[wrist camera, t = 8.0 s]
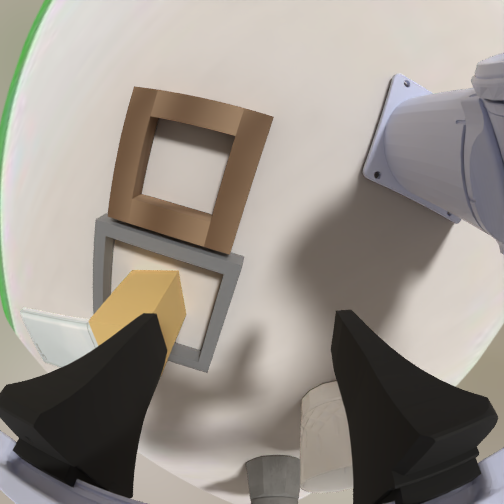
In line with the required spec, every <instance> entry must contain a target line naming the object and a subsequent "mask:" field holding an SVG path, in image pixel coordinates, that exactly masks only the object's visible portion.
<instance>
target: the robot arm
mask: <svg viewBox="0 0 504 504" xmlns="http://www.w3.org/2000/svg"><path fill="white" fill-rule="evenodd" d="M404 81H405V82H407V84H408V87H406V86H405V85H404ZM471 82H472V85H473V87H474V88H468V89H461V90H453V91H447V92H441V93H435V94H433V93H432V92H430V91H428V90H427V89H425V88H424V87H422V86H421V85H419V84H417V83H416V82H414V81H412V80H411V79H409V78H407V77H406V76H404V75H402V74H395V75H394V76H393V78H392V81H391V85H390V88H389V92H388V95H387V98H386V102H385V105H384V108H383V111H382V115H381V118H380V121H379V124H378V127H377V130H376V133H375V136H374V139H373V142H372V145H371V148H370V151H369V154H368V156H367V159H366V162H365V165H364V167H363V175H364V177H365V178H367V179H369V180H371V181H374V182H376V183H378V184H380V185H382V186H385V187H387V188H389V189H391V190H393V191H395V192H397V193H399V194H401V195H403V196H405V197H407V198H409V199H411V200H413V201H415V202H417V203H419V204H421V205H423V206H425V207H427V208H429V209H430V210H432V211H434V212H436V213H438V214H440V215H441V216H443V217H445V218H447V219H449V220H450V221H452V222H454V223H456V224H457V223H459V222H460V221H461V219H463V220H465V221H466V222H468V223H470V224H472V225H473V226H475V227H477V228H479V229H480V230H482V231H484V232H485V233H487V234H489V235H490V236H492V237H493V238H494V239H496V241H497V242H498V244H499V247H500V252H501V253H502V254H503V255H504V53H501V54H498V55H495V56H492V57H489V58H487V59H484V60H482V61H480V62H479V63H478V64H477V67H476V70H475V75H474V76H473V77H472V79H471ZM377 171H378V172H379V176H378V178H375V177H374V173H375V172H377ZM447 212H449V214H447ZM167 351H168V350H167V347H166V344H165V340H164V337H163V334H162V331H161V327H160V324H159V320H158V317H157V314H155V313H143V314H141V315H140V316H138V317H137V318H136V319H134V320H133V321H131V322H130V323H129V324H128V325H126V326H125V327H124V328H122V329H121V330H120V331H118V332H117V333H116V334H114V335H113V336H112V337H110V338H109V339H108V340H106V341H105V342H103V343H102V344H100V345H99V346H98V347H96V348H95V349H93V350H92V351H90V352H89V353H87V354H86V355H84V356H82V357H81V358H79V359H77V360H75V361H73V362H72V363H70V364H68V365H66V366H63V367H61V368H59V369H57V370H55V371H52V372H50V373H48V374H45V375H42V376H40V377H36V378H33V379H30V380H27V381H22V382H18V383H13V384H8V385H6V386H5V387H4V389H3V390H2V391H1V393H0V418H1V419H2V420H3V421H4V422H5V423H6V425H7V426H8V427H9V428H10V429H11V430H12V431H13V432H14V433H15V434H16V435H17V436H18V437H19V440H18V441H17V442H16V441H14V440H13V439H12V438H10V437H9V436H8V435H6V434H5V433H3V432H2V431H1V430H0V490H1V491H2V492H3V493H4V494H6V495H7V496H8V497H9V498H10V499H11V500H12V501H13V502H14V503H16V504H147V503H143V502H140V501H136V500H133V499H130V498H132V497H133V481H134V469H135V462H136V454H137V449H138V444H139V438H140V434H141V430H142V425H143V421H144V418H145V415H146V412H147V409H148V406H149V404H150V401H151V399H152V396H153V394H154V391H155V389H156V386H157V384H158V381H159V379H160V376H161V374H162V371H163V367H164V364H165V359H166V355H167ZM331 353H332V360H333V367H334V372H335V376H336V379H337V383H338V387H339V390H340V394H341V397H342V401H343V405H344V408H345V412H346V416H347V421H348V427H349V435H350V443H351V454H352V467H353V504H504V448H502V449H500V450H499V451H497V452H495V453H493V454H492V455H490V456H488V457H487V458H485V459H483V460H482V461H481V462H479V463H477V460H476V457H477V456H478V455H479V451H478V449H477V446H478V445H479V444H480V443H481V441H482V440H483V439H484V438H485V437H486V436H487V435H488V434H489V433H490V432H491V430H492V429H493V428H494V427H495V425H496V423H497V420H498V416H497V414H496V412H495V410H494V408H493V406H492V405H491V403H490V401H489V399H488V398H487V397H484V396H481V395H477V394H474V393H471V392H468V391H465V390H462V389H459V388H457V387H455V386H452V385H450V384H448V383H446V382H444V381H441V380H439V379H438V378H436V377H434V376H432V375H430V374H428V373H427V372H425V371H423V370H422V369H420V368H418V367H417V366H415V365H414V364H412V363H411V362H409V361H408V360H406V359H405V358H404V357H402V356H401V355H400V354H398V353H397V352H396V351H395V350H394V349H392V348H391V347H390V346H389V345H388V344H386V343H385V342H384V341H383V340H382V339H381V338H380V337H378V336H377V335H376V334H375V333H374V332H373V331H372V330H371V329H370V328H369V327H368V326H367V325H366V324H365V323H364V322H363V321H362V320H361V319H360V318H359V317H358V316H357V315H356V314H355V313H354V312H353V311H352V310H341V311H336V316H335V324H334V331H333V339H332V345H331Z"/></svg>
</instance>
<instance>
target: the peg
mask: <svg viewBox="0 0 504 504" xmlns="http://www.w3.org/2000/svg"><path fill="white" fill-rule="evenodd" d="M143 313H155V314H157V317H158V320H159V324H160V327H161V331H162V334H163V337H164V340H165V344H166V347H167V350H168V351H167V355H166V359H165V364H164V367H165V365H166V362H167V360H168V357H169V355H170V352H171V350H172V347H173V345H174V343H175V340H176V338H177V335H178V333H179V331H180V328H181V326H182V323H183V321H184V319H185V316H186V310H185V305H184V299H183V294H182V288H181V282H180V276H179V271H162V270H132V271H131V272H130V273H129V274H128V275H127V277H126V278H125V279H124V280H123V281H122V282H121V283H120V284H119V286H118V287H117V288H116V289H115V290H114V291H113V292H112V294H111V295H110V296H109V297H108V298H107V299H106V301H105V302H104V303H103V304H102V305H101V307H100V308H99V309H98V310H97V311H96V312H95V314H94V315H93V316H92V317H91V319H90V320H89V321H88V322H89V325H90V327H91V330H92V332H93V334H94V337H95V339H96V342H97V344H98V346H99V345H100V344H102V343H103V342H105V341H106V340H108V339H109V338H110V337H112V336H113V335H114V334H116V333H117V332H118V331H120V330H121V329H122V328H124V327H125V326H126V325H128V324H129V323H130V322H131V321H133V320H134V319H136V318H137V317H138V316H140V315H141V314H143ZM164 367H163V370H164ZM162 372H163V371H162ZM161 375H162V374H161ZM160 377H161V376H160Z"/></svg>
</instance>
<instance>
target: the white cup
mask: <svg viewBox="0 0 504 504" xmlns="http://www.w3.org/2000/svg"><path fill="white" fill-rule="evenodd" d="M300 430H301V433H300V443H301V444H300V488H301V489H302V490H304V491H307V492H312V493H331V492H339V491H344V490H348V489H352V488H353V467H352V454H351V443H350V435H349V427H348V421H347V416H346V412H345V408H344V405H343V401H342V397H341V394H340V390H339V387H338V383H337V381H334V382H329V383H325V384H321V385H320V386H318V387H316V388H314V389H312V390H310V391H309V392H308V393H307V394H306V395H305V396H304V398H303V399H302V404H301V424H300Z"/></svg>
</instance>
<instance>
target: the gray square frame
mask: <svg viewBox="0 0 504 504" xmlns="http://www.w3.org/2000/svg"><path fill="white" fill-rule="evenodd" d="M114 239H116V240H119V241H122V242H125V243H128V244H131V245H134V246H137V247H140V248H143V249H146V250H149V251H152V252H155V253H158V254H161V255H164V256H167V257H170V258H173V259H176V260H180V261H183V262H186V263H189V264H192V265H195V266H199V267H202V268H205V269H208V270H211V271H215V272H218V273H221V274H224V275H223V279H222V282H221V285H220V289H219V292H218V296H217V299H216V302H215V306H214V309H213V313H212V316H211V320H210V323H209V327H208V330H207V334H206V337H205V341H204V344H203V348H202V351H200V350H197V349H194V348H190V347H187V346H184V345H181V344H178V343H174V345H173V347H172V350H171V352H170V355H169V357H168V361H171V362H174V363H177V364H180V365H183V366H186V367H189V368H193V369H196V370H199V371H203V372H206V373H207V372H208V369H209V366H210V363H211V360H212V357H213V354H214V351H215V348H216V345H217V342H218V339H219V336H220V332H221V329H222V326H223V323H224V320H225V317H226V314H227V311H228V308H229V305H230V302H231V299H232V296H233V293H234V290H235V287H236V284H237V281H238V278H239V275H240V272H241V269H242V265H243V260H244V256H241V255H237V254H234V253H231V252H230V255H229V254H226V253H223V252H219V251H216V250H213V249H210V248H206V247H203V246H200V245H197V244H193V243H190V242H187V241H184V240H180V239H177V238H174V237H171V236H168V235H164V234H161V233H158V232H155V231H152V230H148V229H145V228H142V227H139V226H136V225H133V224H129V223H126V222H123V221H120V220H117V219H114V218H111V217H108V214H104V215H103V216H101V217H99V218H97V219H96V222H95V235H94V254H93V312H94V314H95V312H96V311H97V310H98V309H99V308H100V307H101V305H102V304H103V303H104V302H105V301H106V299H107V298H108V297H109V296H110V295H111V274H112V258H113V246H114Z"/></svg>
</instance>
